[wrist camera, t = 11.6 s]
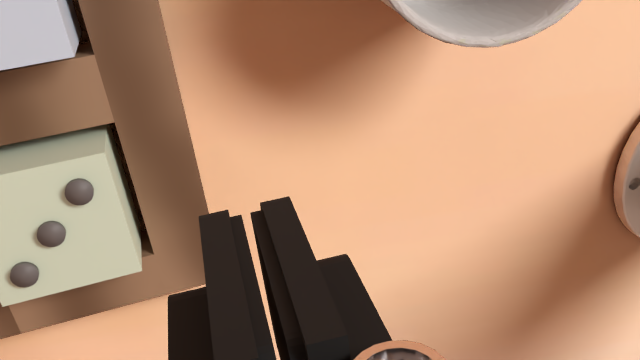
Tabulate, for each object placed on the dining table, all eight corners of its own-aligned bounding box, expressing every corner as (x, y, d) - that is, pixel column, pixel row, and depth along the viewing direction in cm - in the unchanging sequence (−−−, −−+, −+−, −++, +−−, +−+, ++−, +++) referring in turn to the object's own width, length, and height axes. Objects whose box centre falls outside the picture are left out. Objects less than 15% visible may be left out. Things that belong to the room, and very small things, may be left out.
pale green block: (107, 116, 28) (104, 155, 24) (140, 223, 31) (142, 274, 27) (-29, 144, 27) (-56, 190, 23) (18, 253, 30) (1, 311, 26)
